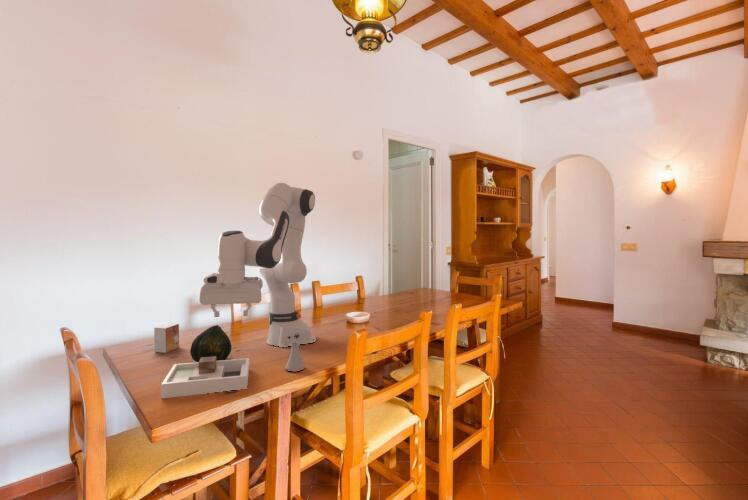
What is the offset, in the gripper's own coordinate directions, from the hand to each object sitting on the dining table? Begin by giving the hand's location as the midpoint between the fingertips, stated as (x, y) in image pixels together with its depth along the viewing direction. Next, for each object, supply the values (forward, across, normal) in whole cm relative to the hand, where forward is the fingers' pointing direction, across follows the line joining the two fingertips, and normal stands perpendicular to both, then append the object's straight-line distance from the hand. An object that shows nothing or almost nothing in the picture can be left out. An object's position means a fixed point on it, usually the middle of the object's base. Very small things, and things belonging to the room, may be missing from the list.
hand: (231, 316), depth 128 cm
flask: (+22, -22, -2) cm, 31 cm away
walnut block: (+19, +8, 0) cm, 20 cm away
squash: (+22, +9, -16) cm, 29 cm away
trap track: (+22, +6, +4) cm, 23 cm away
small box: (+22, +29, -36) cm, 51 cm away
